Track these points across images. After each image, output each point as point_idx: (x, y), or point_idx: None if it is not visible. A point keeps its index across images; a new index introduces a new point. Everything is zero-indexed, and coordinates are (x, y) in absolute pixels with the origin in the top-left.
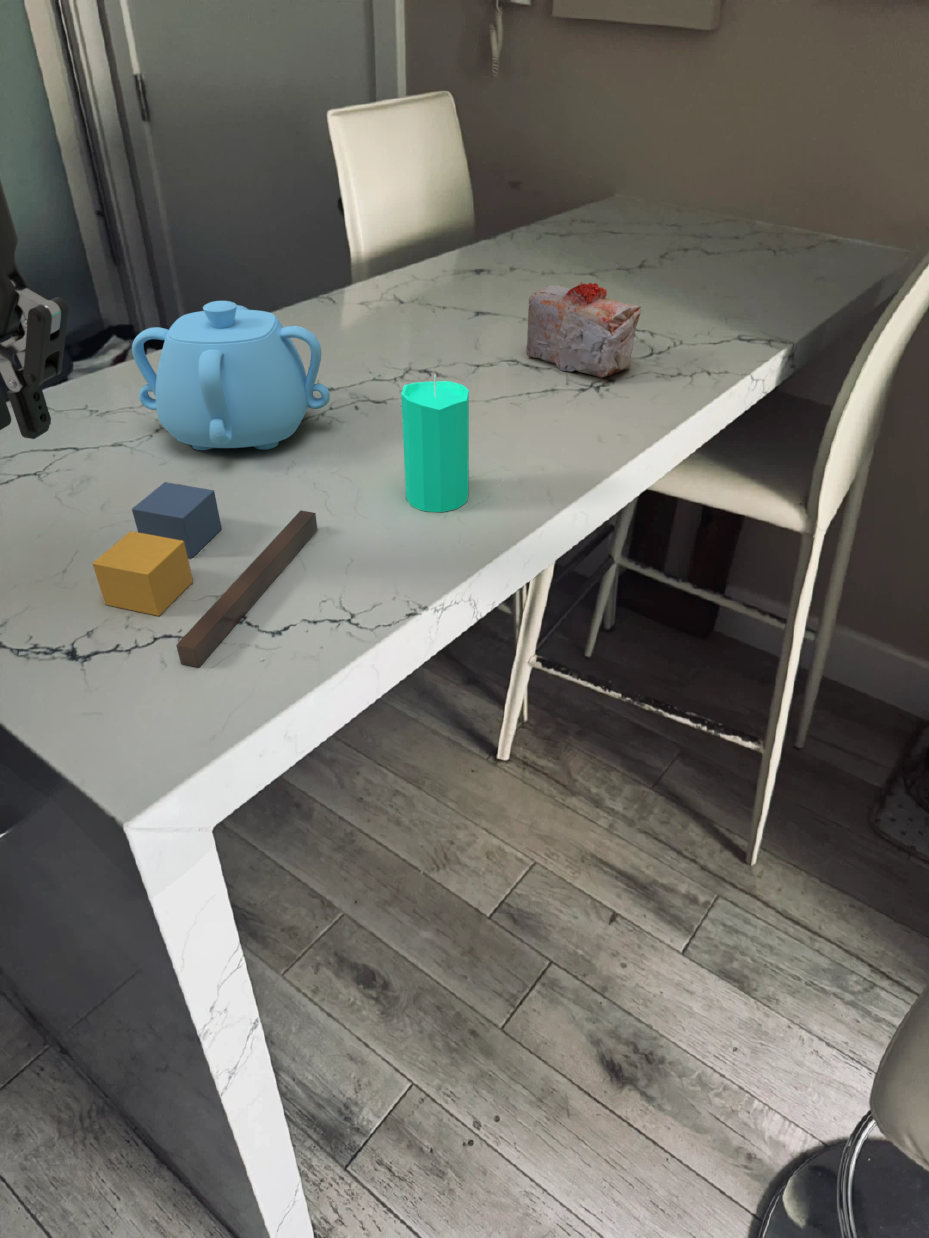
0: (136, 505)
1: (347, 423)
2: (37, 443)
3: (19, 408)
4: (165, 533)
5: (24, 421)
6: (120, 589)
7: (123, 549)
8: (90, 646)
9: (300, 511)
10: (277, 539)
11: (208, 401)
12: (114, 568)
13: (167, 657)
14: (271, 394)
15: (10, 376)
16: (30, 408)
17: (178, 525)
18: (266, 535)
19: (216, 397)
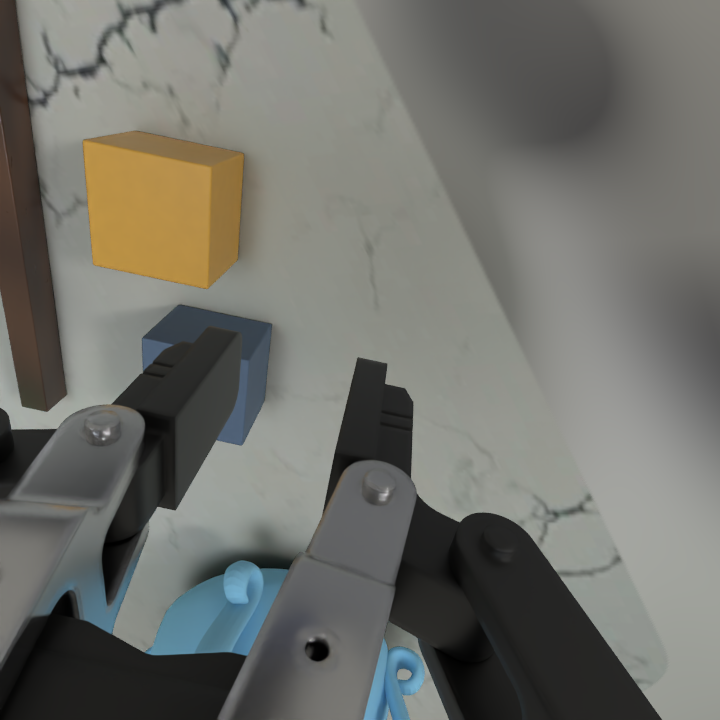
0: (246, 372)
1: (157, 627)
2: (590, 591)
3: (169, 375)
4: (203, 329)
5: (188, 350)
6: (183, 149)
7: (180, 223)
8: (199, 16)
9: (45, 408)
10: (28, 332)
11: (227, 630)
12: (160, 156)
13: (49, 3)
14: (161, 652)
15: (80, 450)
16: (141, 383)
17: (163, 333)
18: (106, 372)
19: (209, 637)
